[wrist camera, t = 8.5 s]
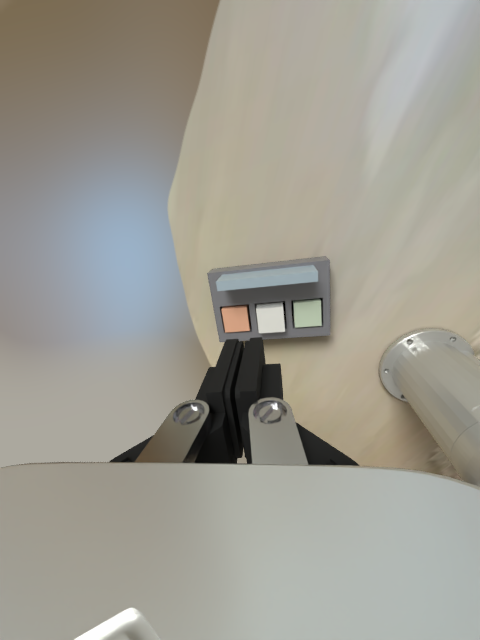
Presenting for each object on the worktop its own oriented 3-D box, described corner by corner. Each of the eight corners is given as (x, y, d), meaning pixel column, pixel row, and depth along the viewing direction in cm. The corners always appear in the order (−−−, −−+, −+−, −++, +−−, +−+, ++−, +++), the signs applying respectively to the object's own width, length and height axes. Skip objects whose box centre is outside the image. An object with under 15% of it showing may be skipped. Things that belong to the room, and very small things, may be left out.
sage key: (317, 294, 37) (321, 300, 35) (318, 317, 39) (321, 325, 36) (292, 296, 38) (293, 303, 35) (293, 319, 39) (295, 327, 37)
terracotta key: (248, 300, 39) (246, 307, 36) (251, 322, 40) (249, 330, 38) (225, 302, 40) (221, 309, 37) (228, 324, 41) (225, 332, 38)
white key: (282, 299, 37) (283, 306, 35) (284, 323, 39) (285, 331, 36) (257, 302, 38) (256, 309, 35) (260, 325, 39) (258, 333, 36)
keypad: (325, 256, 36) (336, 265, 29) (326, 326, 40) (336, 348, 33) (212, 269, 38) (199, 280, 32) (223, 333, 42) (213, 355, 36)
